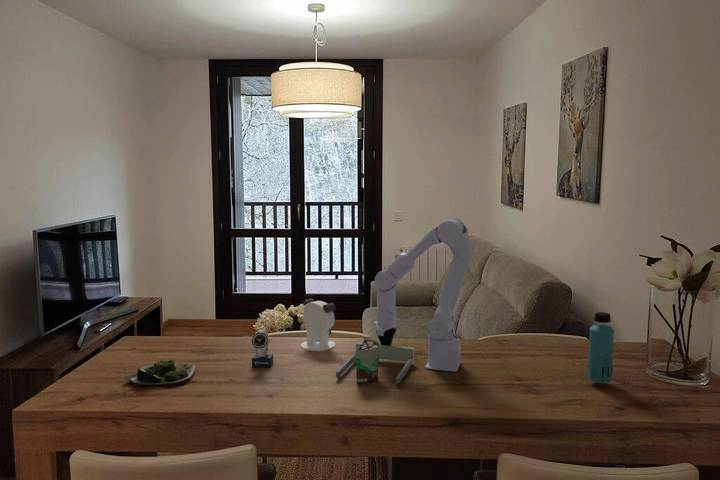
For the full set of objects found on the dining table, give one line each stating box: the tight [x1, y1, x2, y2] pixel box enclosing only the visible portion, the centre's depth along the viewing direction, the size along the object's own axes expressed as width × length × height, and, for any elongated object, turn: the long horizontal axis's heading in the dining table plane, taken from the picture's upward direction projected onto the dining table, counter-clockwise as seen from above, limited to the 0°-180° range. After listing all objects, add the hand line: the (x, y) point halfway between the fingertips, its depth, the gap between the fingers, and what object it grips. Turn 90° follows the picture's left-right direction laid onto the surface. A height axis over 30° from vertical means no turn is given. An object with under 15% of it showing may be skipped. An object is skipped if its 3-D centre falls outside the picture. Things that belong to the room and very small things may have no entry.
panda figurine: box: [300, 298, 336, 352], centre depth 198 cm, size 12×11×15 cm
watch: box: [251, 329, 274, 369], centre depth 179 cm, size 6×8×11 cm
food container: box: [355, 337, 382, 385], centre depth 168 cm, size 12×6×10 cm, turn 168°
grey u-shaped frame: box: [335, 342, 415, 386], centre depth 174 cm, size 18×19×5 cm
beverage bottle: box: [586, 311, 615, 384], centre depth 163 cm, size 6×7×20 cm
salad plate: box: [123, 358, 196, 388], centre depth 172 cm, size 19×18×5 cm
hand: (386, 352), depth 185 cm, fingers closed
